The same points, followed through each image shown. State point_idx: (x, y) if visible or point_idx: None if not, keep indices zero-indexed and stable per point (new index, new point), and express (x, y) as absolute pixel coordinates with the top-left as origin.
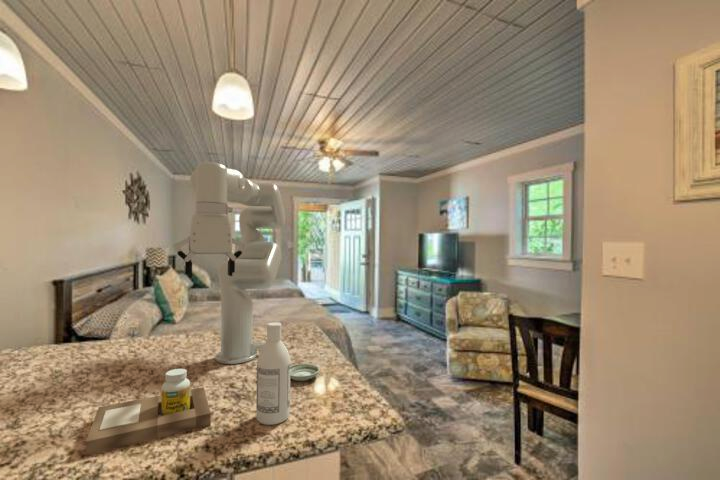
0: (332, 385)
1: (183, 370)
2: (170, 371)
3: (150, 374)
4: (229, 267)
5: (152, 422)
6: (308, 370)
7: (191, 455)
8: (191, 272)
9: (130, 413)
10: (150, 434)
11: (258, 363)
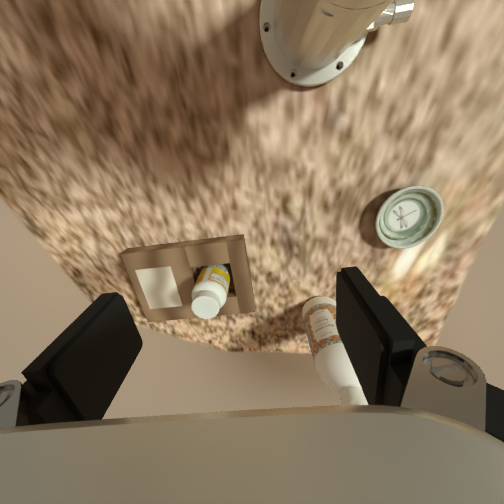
0: (425, 260)
1: (214, 306)
2: (196, 303)
3: (130, 84)
4: (353, 364)
5: None
6: (423, 202)
7: (240, 339)
8: (129, 366)
9: (167, 286)
10: None
11: (316, 368)
